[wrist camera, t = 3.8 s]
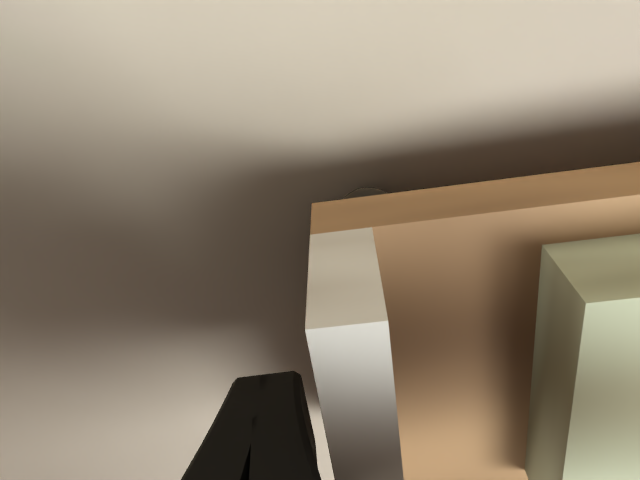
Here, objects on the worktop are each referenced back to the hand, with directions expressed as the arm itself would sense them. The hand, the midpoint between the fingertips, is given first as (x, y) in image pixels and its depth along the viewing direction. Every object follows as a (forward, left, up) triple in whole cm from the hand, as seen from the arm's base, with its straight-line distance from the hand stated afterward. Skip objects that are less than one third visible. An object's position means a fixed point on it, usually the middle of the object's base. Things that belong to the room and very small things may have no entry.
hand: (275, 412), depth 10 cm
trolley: (0, -6, -3) cm, 6 cm away
